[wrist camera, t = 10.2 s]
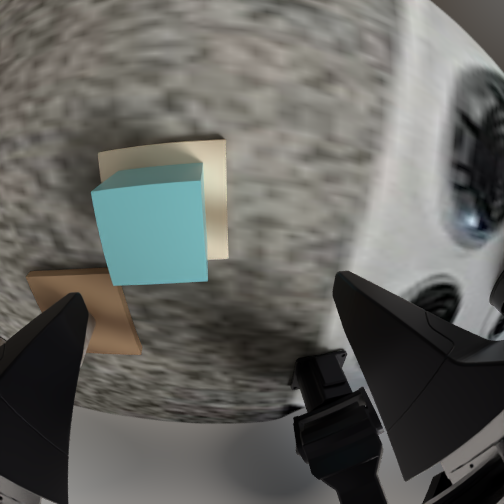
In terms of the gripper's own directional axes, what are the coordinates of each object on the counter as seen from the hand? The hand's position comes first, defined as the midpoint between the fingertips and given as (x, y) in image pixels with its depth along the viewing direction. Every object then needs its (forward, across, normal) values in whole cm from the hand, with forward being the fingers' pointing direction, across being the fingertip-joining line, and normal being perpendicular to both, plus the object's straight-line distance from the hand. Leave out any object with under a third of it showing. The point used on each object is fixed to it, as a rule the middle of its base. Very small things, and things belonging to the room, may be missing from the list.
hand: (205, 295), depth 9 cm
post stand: (+12, +13, +10) cm, 21 cm away
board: (+12, +3, +1) cm, 12 cm away
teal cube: (+11, +3, +1) cm, 12 cm away
